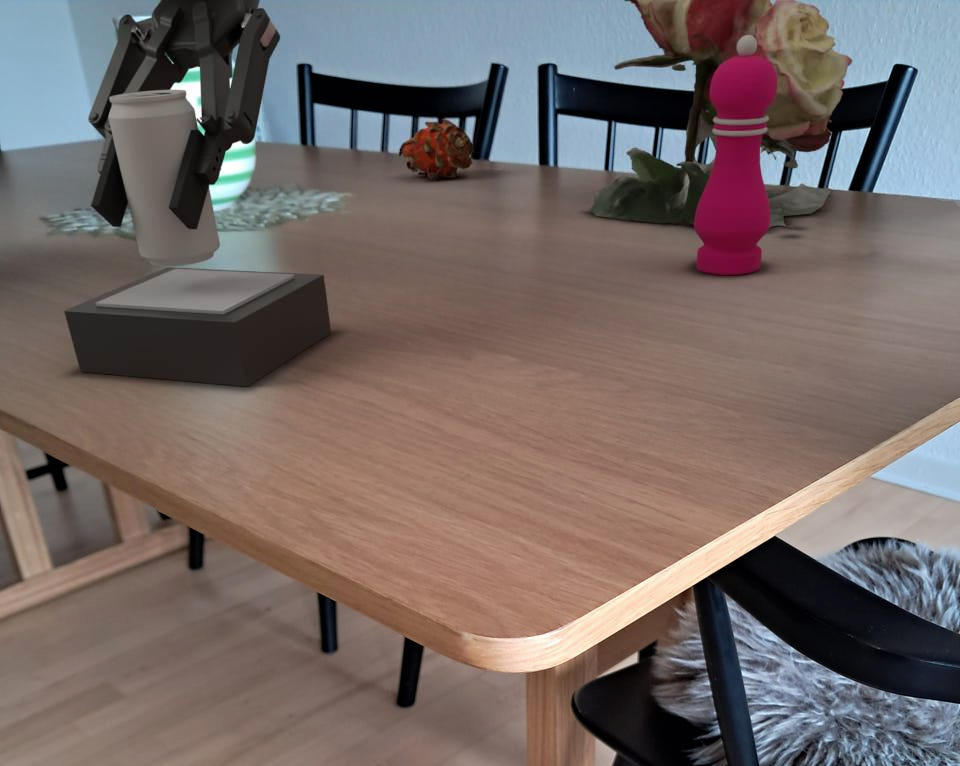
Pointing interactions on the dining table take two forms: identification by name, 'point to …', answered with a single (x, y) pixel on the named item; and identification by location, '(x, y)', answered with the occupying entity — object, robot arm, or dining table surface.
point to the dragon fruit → (438, 150)
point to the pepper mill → (736, 166)
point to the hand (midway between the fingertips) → (144, 217)
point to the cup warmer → (200, 325)
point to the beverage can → (159, 175)
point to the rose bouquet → (709, 42)
